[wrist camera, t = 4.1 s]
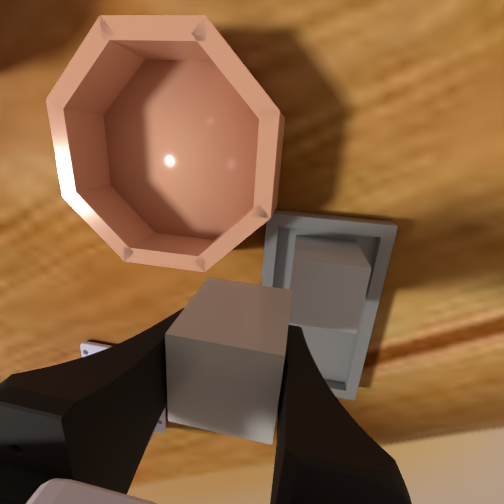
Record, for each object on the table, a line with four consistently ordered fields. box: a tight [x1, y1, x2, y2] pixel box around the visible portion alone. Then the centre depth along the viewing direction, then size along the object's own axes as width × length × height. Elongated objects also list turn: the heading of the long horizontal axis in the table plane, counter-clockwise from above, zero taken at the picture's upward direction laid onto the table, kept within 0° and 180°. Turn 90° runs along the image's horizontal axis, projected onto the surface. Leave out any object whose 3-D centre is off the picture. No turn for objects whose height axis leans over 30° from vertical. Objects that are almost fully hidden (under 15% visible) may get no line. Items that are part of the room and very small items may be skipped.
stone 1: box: [165, 277, 292, 445], centre depth 12 cm, size 4×4×4 cm
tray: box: [261, 210, 398, 401], centre depth 21 cm, size 14×8×1 cm, turn 177°
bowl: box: [46, 15, 285, 272], centre depth 18 cm, size 13×13×4 cm
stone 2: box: [289, 235, 371, 333], centre depth 18 cm, size 4×4×4 cm
